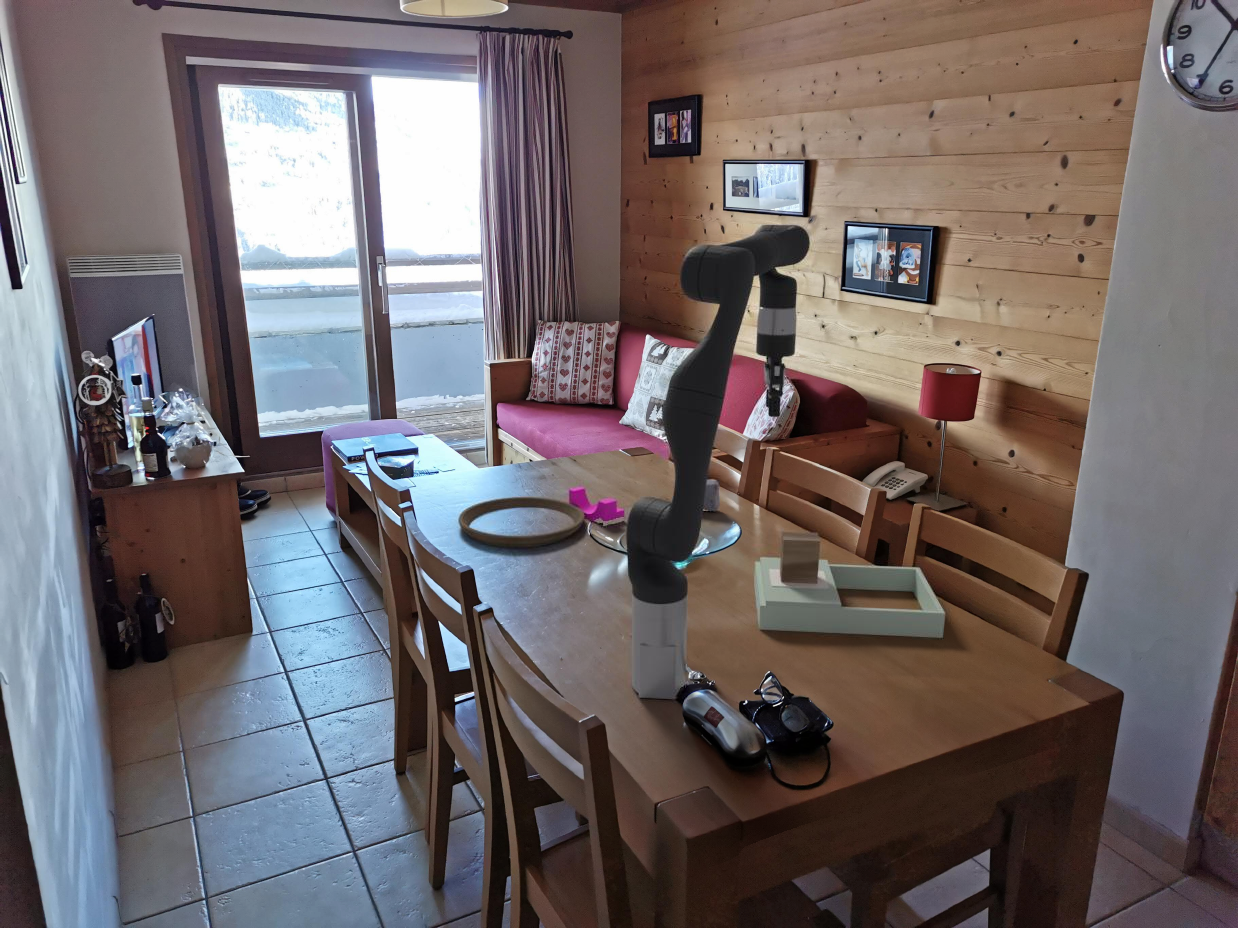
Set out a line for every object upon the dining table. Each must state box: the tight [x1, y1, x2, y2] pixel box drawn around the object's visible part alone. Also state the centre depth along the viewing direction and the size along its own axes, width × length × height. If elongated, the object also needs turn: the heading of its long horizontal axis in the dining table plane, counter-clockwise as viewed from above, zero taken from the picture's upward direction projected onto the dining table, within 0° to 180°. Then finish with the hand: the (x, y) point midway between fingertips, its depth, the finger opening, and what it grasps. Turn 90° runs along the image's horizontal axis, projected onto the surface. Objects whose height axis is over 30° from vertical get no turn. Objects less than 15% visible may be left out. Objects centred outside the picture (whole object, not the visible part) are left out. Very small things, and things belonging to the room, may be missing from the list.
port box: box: [753, 556, 946, 639], centre depth 179 cm, size 22×34×6 cm, turn 84°
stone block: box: [703, 479, 721, 513], centre depth 233 cm, size 12×5×10 cm, turn 62°
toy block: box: [568, 486, 625, 522], centre depth 229 cm, size 15×6×8 cm, turn 39°
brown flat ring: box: [458, 496, 586, 549], centre depth 222 cm, size 31×31×5 cm
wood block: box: [780, 531, 821, 584], centre depth 177 cm, size 4×7×9 cm, turn 84°
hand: (772, 411), depth 179 cm, fingers open, 8 cm apart
